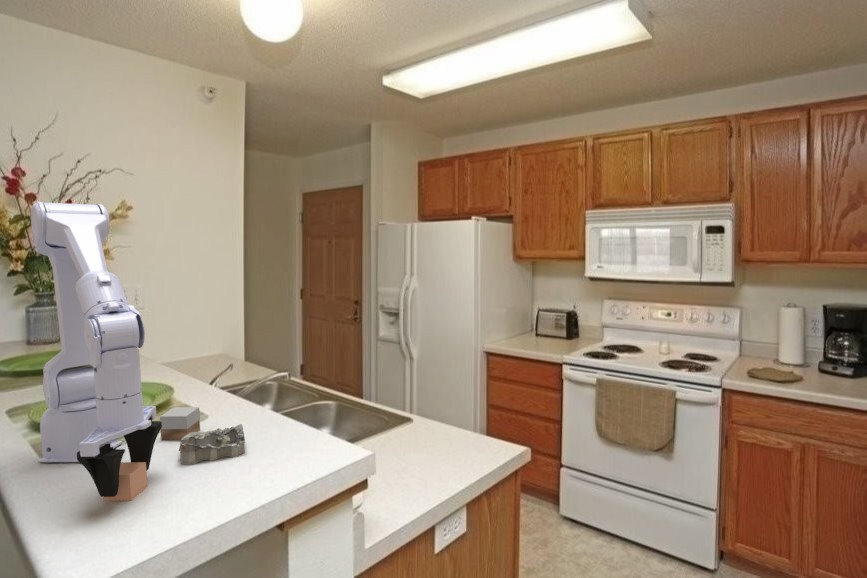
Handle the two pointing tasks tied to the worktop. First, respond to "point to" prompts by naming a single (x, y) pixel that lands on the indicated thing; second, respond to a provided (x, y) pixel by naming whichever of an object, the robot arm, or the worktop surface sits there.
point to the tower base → (178, 432)
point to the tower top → (180, 418)
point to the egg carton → (211, 444)
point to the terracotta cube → (130, 481)
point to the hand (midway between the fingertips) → (125, 482)
